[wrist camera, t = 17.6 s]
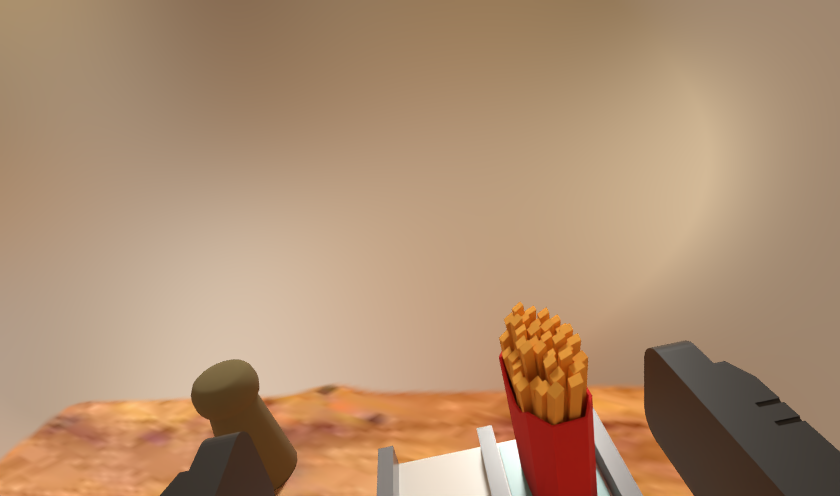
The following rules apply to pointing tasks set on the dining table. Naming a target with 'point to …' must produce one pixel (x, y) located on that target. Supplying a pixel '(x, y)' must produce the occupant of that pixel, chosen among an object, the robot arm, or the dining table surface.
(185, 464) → the dining table surface
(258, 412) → the cork
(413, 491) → the slot rack
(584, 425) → the french fries
